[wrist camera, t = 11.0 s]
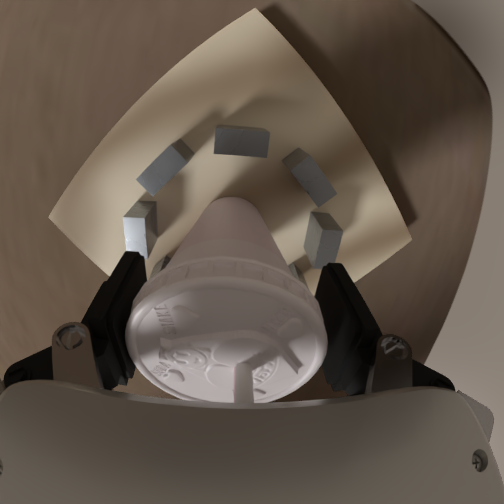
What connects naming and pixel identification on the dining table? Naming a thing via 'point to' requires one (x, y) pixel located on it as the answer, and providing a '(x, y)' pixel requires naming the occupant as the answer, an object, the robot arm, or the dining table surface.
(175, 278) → the smoothie
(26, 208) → the dining table surface
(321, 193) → the grey blocks
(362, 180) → the socket plate
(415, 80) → the dining table surface
